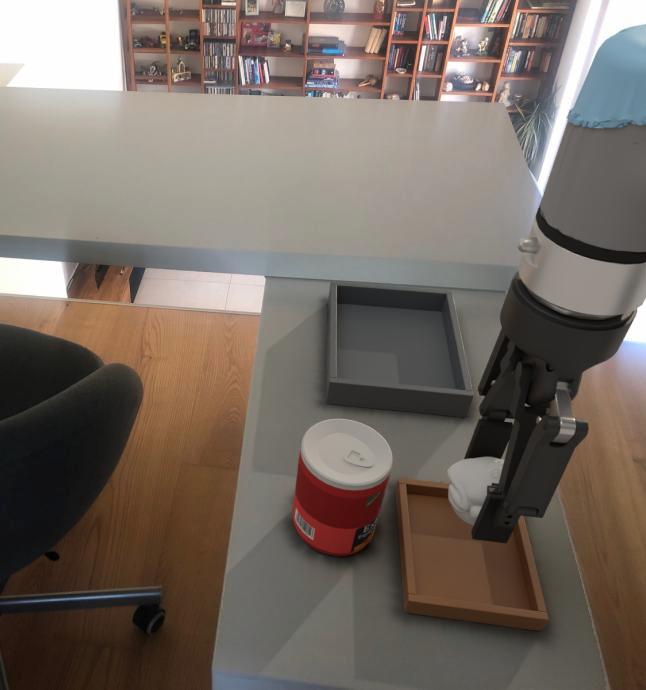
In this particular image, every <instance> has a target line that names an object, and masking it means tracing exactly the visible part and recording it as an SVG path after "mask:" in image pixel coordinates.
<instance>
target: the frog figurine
mask: <svg viewBox="0 0 646 690" xmlns="http://www.w3.org/2000/svg"><path fill="white" fill-rule="evenodd" d="M504 460H505V458H501V459H498V458H494V457H480V458H473V459H472V458H470V459H464V458H463V459H461V460H458V461H456V462H455V463H453V464H452V465H450V467H448V469H447V470H446V474H447V477H448V479H449V481H450V485H449V489H448V498H449V501H450V503H451V505H452V508H453V510H454V511H455V513H456V514H457V515H458V516H459V517H460V518H461V519H462V520H463V521H465V522H466V523H468V524H470V525H473V526H474V524H475V521H476V519H477V517H478V514H479V512H480V510H481V508H482V505H483V503H484V501H485V498H486V496H487V485H488V486H491V484H492V483H499V479H500V475H501V471H502V467H503V463H504Z"/></svg>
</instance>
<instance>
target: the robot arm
mask: <svg viewBox="0 0 646 690" xmlns="http://www.w3.org/2000/svg"><path fill="white" fill-rule="evenodd" d="M566 119H567V121H566V125H565V128H564V131H563V135H562V137H561V139H560V140H561V141H560V143H559V146H558V149H557V152H556V155H555V158H554V161H553V164H552V167H551V170H550V174H549V176H548V180H547V183H546V185H545V188H544V191H543V194H542V197H541V201H540V203H539V205H538V208H537V211H536V214H535V216H534V219H533V222H532V226H531V228H530V231H529V233H528V236H522V237H520V238H519V239H518V243H517V246H516V247H517V249H518V251H519V252H521V256H520V258H519V261H518V265H517V271H516V272H515V273H514V275H513V277H512V278H511V281H510V284H509V287H508V290H507V292H506V296H505V298H504V302H503V304H502V306H501V310H500V312H499V313H500V314H499V322H500V326H501V328H500V332H499V333H498V336H497V338H496V341H495V344H494V346H493V349H492V350H491V354H490V355H489V359H488V361H487V364H486V366H485V368H484V371H483V374H482V375H481V378H480V381H479V384H478V385H477V392H478V395H479V396H480V397H484V398H483V399H482V400H481V402H480V403H479V407H478V411H479V415H480V416H481V418H478V421H477V423H476V426H475V428H474V431H473V434H472V436H471V439H470V442H469V444H468V447H467V450H466V452H465V454H464V457H463V459H470V458H472V459H473V458H480V457H494V458H498V459H503V456H504V454H505V456H504V459H505V460H504V463H503V467H502V471H501V475H500V479H499V483H492V484H491V486H488V485H487V496H486V498H485V501H484V503H483V505H482V508H481V510H480V512H479V514H478V517H477V519H476V521H475V524H474V526H473V528H472V531H471V534H472V539H475V540H483V541H491V542H498V543H506V544H507V542H508V540H509V538H510V536H511V534H512V532H513V530H514V528H515V526H516V524H517V522H518V520H519V518H520V516H524V517H529V518H536V519H542V518H544V516H545V514H546V512H547V511H548V507H549V505H550V503H551V501H552V499H553V497H554V494H555V492H556V491H557V488H558V486H559V484H560V482H561V479H562V478H563V475H564V473H565V471H566V469H567V467H568V464H569V463H570V460H571V458H572V456H573V454H574V452H575V450H576V448H578V446H579V445H580V444H581V443H582V442H583V441H584V440H585V439H586V438H587V436H588V434H589V422H588V420H587V419H586V418H577V417H574V411H573V404H572V401H573V400H575V398H576V397H577V395H578V393H579V390H580V386H581V383H582V379H583V373H584V372H586V371H587V370H589V369H591V368H594V367H596V366H597V365H600V364H602V363H604V362H606V361H608V360H610V359H612V358H613V357H614V356H615V355H616V354H617V352H618V351H619V349H620V348H621V345H622V344H623V342H624V340H625V338H626V336H627V334H628V332H629V330H630V329H631V326H632V325H633V322H634V320H635V319H636V317H637V314H638V309H639V308H640V307H641V306H643V305H644V302H645V300H646V23H643V24H638V25H632V26H628V27H626V28H623V29H621V30H619V31H618V32H616V33H615V34H613V35H610V37H607V38H606V39H604V41H603V42H602V43H601V45H600V46H599V47H598V49H597V51H596V52H595V55H594V57H593V60H592V62H591V65H590V67H589V68H588V71H587V74H586V77H585V78H584V81H583V84H582V86H581V89H580V91H579V93H578V96H577V97H576V100H575V103H574V105H573V107H572V108H571V109H569V111H568V114H567V116H566ZM493 381H494V382H493ZM506 419H509V420H513V422H512V421H506ZM505 451H506V452H505Z"/></svg>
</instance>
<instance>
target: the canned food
mask: <svg viewBox="0 0 646 690" xmlns="http://www.w3.org/2000/svg"><path fill="white" fill-rule="evenodd" d="M393 458H394V457H393V452H392V448H391V447H390V444H389V443H388V442H387V440H386V439H385V438H384V437H383V435H381V434H380V433H379V432H378V431H377V430H375V429H374V428H372V427H370V426H369V425H367V424H366V423H365V424H364V423H362V422H360V421H356V420H353V419H347V418H330V419H325V420H321V421H319V422H317V423H315V424H313V425H312V426H311V427H309V428H308V430H306V432H305V433H304V435H303V437H302V440H301V445H300V448H299V456H298V464H297V470H296V471H297V472H296V479H295V488H294V496H293V502H292V503H293V504H292V511H291V513H292V521H293V525H294V527H295V530H296V532H297V534H298V536H299V537H300V538H301V540H302V541H303V542H304V543H305V544H306V545H308V546H309V547H310V548H312V549H313V550H315V551H317V552H319V553H322V554H325V555H328V556H332V557H333V556H334V557H346V556H351V555H355V554H356V553H358V552H360V551H361V550H363V549H364V548H365V547H366V546H367V545H368V544H369V543H370V542H371V540H372V539H373V536H374V534H375V532H376V528H377V525H378V521H379V517H380V513H381V509H382V506H383V502H384V499H385V495H386V491H387V488H388V484H389V481H390V476H391V472H392V468H393Z"/></svg>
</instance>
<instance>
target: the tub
mask: <svg viewBox="0 0 646 690" xmlns="http://www.w3.org/2000/svg"><path fill="white" fill-rule="evenodd" d="M326 326H327V328H326V330H327V331H326V332H327V333H326V334H327V335H326V378H325V379H326V382H325V383H326V384H325V385H326V386H325V387H326V388H325V404H329V405H337V406H346V407H347V406H348V407H358V408H368V409H377V410H387V411H396V412H406V413H407V412H408V413H415V414H427V415H436V416H445V417H457V418H464V419H465V418H467V417H468V414H469V411H470V408H471V405H472V402H473V399H474V396H475V394H474V390H473V386H472V380H471V376H470V371H469V366H468V360H467V356H466V352H465V346H464V342H463V336H462V332H461V328H460V327H461V326H460V322H459V317H458V314H457V308H456V303H455V298H454V294H453V291H452V290H449V289H448V290H446V289H434V288H422V287H421V288H420V287H411V286H410V287H409V286H396V285H395V286H394V285H385V284H383V285H382V284H371V283H369V284H368V283H359V282H358V283H357V282H344V281H330V284H329V292H328V298H327V325H326Z"/></svg>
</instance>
